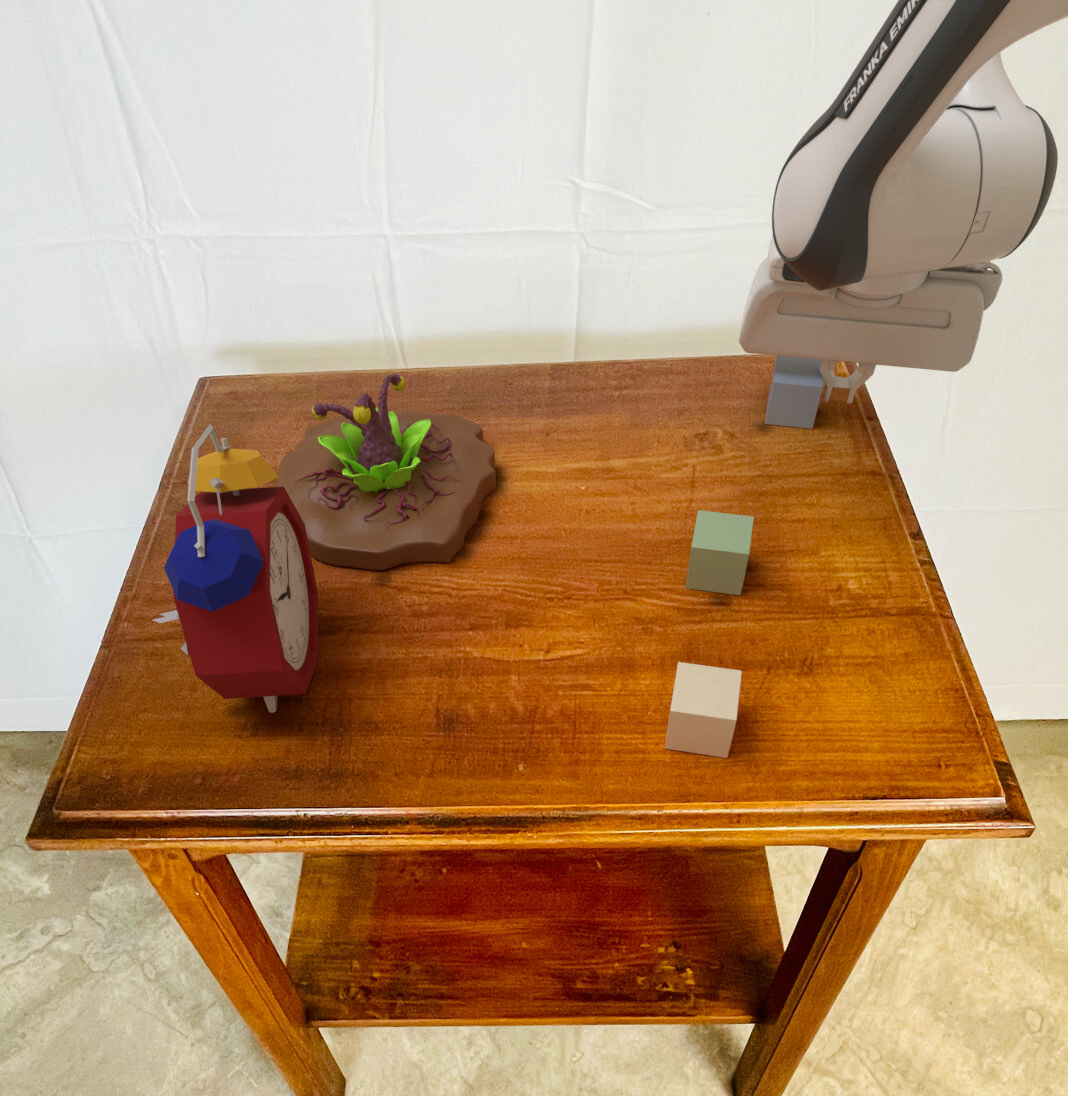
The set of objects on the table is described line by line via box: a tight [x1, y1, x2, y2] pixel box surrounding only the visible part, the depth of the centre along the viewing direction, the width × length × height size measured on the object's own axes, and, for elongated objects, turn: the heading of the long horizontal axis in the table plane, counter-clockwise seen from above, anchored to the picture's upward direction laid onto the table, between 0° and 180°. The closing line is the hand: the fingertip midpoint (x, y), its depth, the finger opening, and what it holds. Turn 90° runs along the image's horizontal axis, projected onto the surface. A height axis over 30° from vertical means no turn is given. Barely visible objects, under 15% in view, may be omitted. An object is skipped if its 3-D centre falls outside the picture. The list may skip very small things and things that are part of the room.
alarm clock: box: [152, 423, 319, 714], centre depth 63 cm, size 15×9×20 cm, turn 3°
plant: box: [275, 373, 497, 571], centre depth 78 cm, size 20×20×11 cm
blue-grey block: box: [764, 355, 824, 430], centre depth 86 cm, size 4×4×4 cm
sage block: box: [685, 509, 755, 596], centre depth 73 cm, size 4×4×4 cm
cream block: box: [664, 661, 743, 759], centre depth 64 cm, size 4×4×4 cm
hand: (837, 399), depth 85 cm, fingers closed
